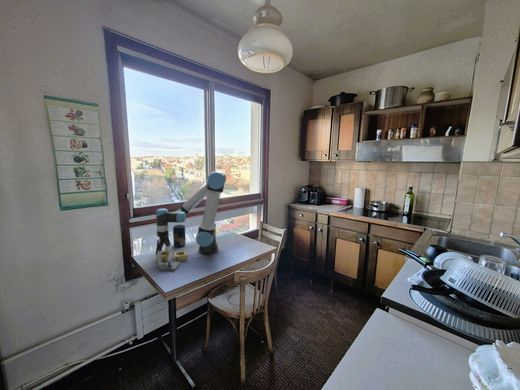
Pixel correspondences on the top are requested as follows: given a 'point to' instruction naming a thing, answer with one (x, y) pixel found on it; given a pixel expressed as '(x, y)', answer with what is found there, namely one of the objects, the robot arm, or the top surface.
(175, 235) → the canister
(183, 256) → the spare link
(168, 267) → the keeper
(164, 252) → the link
